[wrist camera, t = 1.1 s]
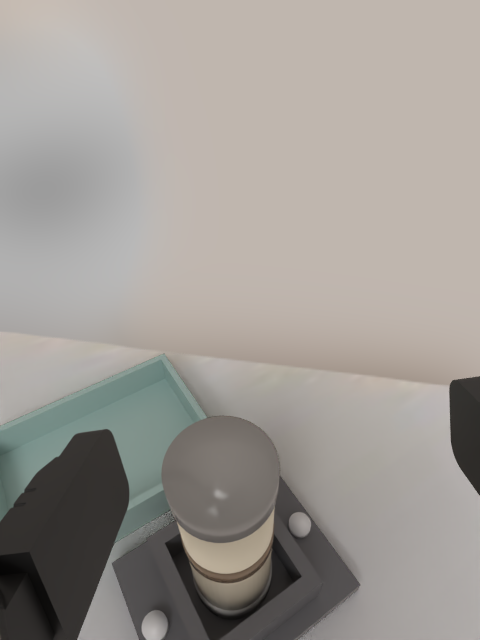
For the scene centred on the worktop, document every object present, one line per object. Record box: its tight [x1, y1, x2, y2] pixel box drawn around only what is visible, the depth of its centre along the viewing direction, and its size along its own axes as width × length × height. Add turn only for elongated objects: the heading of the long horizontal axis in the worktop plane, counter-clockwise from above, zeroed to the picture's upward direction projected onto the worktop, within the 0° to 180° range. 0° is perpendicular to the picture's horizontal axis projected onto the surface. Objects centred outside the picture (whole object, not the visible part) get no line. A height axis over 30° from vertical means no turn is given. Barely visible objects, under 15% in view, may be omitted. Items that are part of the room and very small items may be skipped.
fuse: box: [161, 416, 280, 620], centre depth 21 cm, size 5×5×13 cm
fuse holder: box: [112, 475, 360, 640], centre depth 25 cm, size 12×9×4 cm
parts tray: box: [0, 354, 207, 543], centre depth 31 cm, size 15×11×3 cm
